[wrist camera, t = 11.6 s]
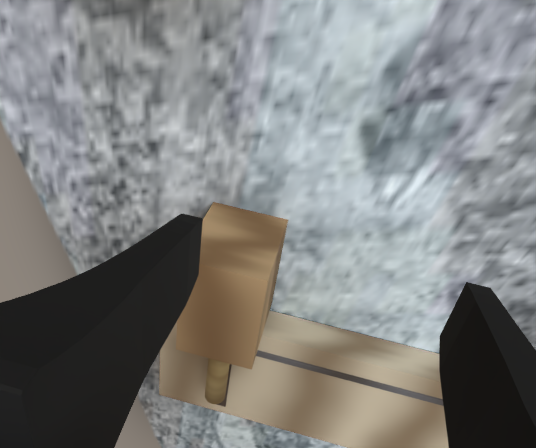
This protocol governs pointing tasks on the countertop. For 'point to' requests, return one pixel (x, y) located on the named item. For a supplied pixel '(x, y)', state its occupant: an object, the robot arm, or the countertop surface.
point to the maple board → (323, 386)
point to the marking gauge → (231, 291)
